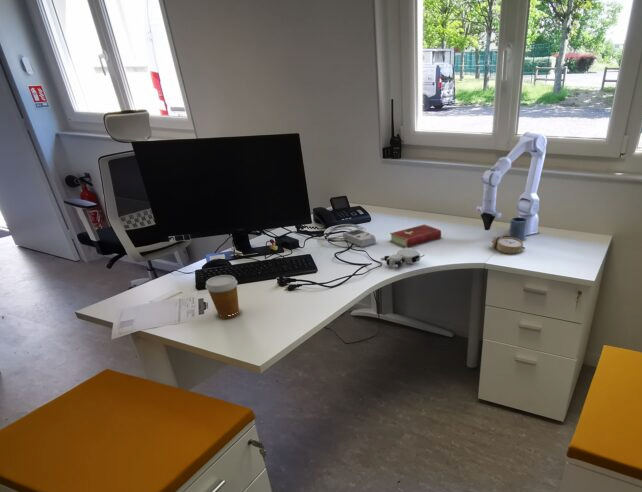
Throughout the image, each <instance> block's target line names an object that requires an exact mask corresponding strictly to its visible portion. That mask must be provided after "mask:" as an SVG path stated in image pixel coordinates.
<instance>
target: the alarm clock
mask: <svg viewBox="0 0 642 492" xmlns="http://www.w3.org/2000/svg"><path fill="white" fill-rule="evenodd" d="M491 243H492V247H493V248H495V249H496V250H497V251H499V252H500V253H504V254H509V255H517V254H520V253H521V252H522V251H523V249H526V247H524V242H523V241H521V240H519V239H516V238H511V237H510V236H509V234H504V235H502V236H495V237H493V238H492V241H491Z"/></svg>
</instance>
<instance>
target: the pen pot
mask: <svg viewBox="0 0 642 492" xmlns="http://www.w3.org/2000/svg"><path fill="white" fill-rule="evenodd" d="M509 223H510V224H509V232H508V235H509V236H510V237H511V238H516V239H519V240H521V241H522V242H523V241H524V240H525V237H526V236H525V231H526V223H527V219H525V218H520V217H519V216H517V217H515V216H514V217H511V218H510V222H509Z"/></svg>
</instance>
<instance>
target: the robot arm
mask: <svg viewBox="0 0 642 492" xmlns="http://www.w3.org/2000/svg"><path fill="white" fill-rule="evenodd" d="M547 143H548V139H547V137H546V136H545V134H543V133H535V132H530V131H526V132H524V133H523V134H522V135H521V136H520V137H519V140H518V142H517V144H516V145H514V147H513V148H512V149H511V150H510V152H509V153H508V154H507V155H506V156H502V157H499V158H498V161H496V163H494V165H493V166H491V168H490V169H487V170H485V171H484V172H483V174H482V176H481V181H482V183H483V185H482V186H483V192H482V193H483V196H482V205H477V206H476V211H477V212H480V218H481V220H482V223H483V228H484V231H490V230H491V227H492V225H493V222H494V221H495V219H499V218H502V212H501V211H499V210H497V209H496V206H497V191H498V186H499V185H500V183H501V181H502V178H503V176H504V175H505V174H506V173H507V172H508V171H509V170H510V169H511V168H512V163H513V162H515V160H516V159H518V158H519V157H520V156H521V155H522V154H524V152H529V154H530V155H531V160H530V164H529V170H528V173H527V179H526V184H525V189H524V192H523V193H521V194H520V195H519V198H518V200H517V202H516V210H517V211H518V212H517V213H518V217H520V218H525V219H527V223H526V231H525V237H526V236H530V235H534V234H538V233H539V231H538V227H539V221H540V220H539V219H540V217H539V214H538V213H539V210H540V198H539V196H538V193H537V192H538V188H539V185H540V180H541V175H542V170H543V166H544V162H545V159H546V153H547V151H546V148H547Z"/></svg>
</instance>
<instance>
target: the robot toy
mask: <svg viewBox="0 0 642 492" xmlns="http://www.w3.org/2000/svg"><path fill="white" fill-rule="evenodd" d="M423 257H425V254H422V255H421V253H420V251H418V250H417V249H415V248H411V247H408V248H407V247H406V248H405V247H403V248H401V249H398V250H397V251H396V253H394V254H391V255H385V256H383V257H380V261H383V262H385V263H386V264H387V266H389V267H393V268H399V267H401V266H402V264H403V263H405V264H411V265H415V264H416V263H418V262H419V261H421V258H423Z"/></svg>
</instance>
